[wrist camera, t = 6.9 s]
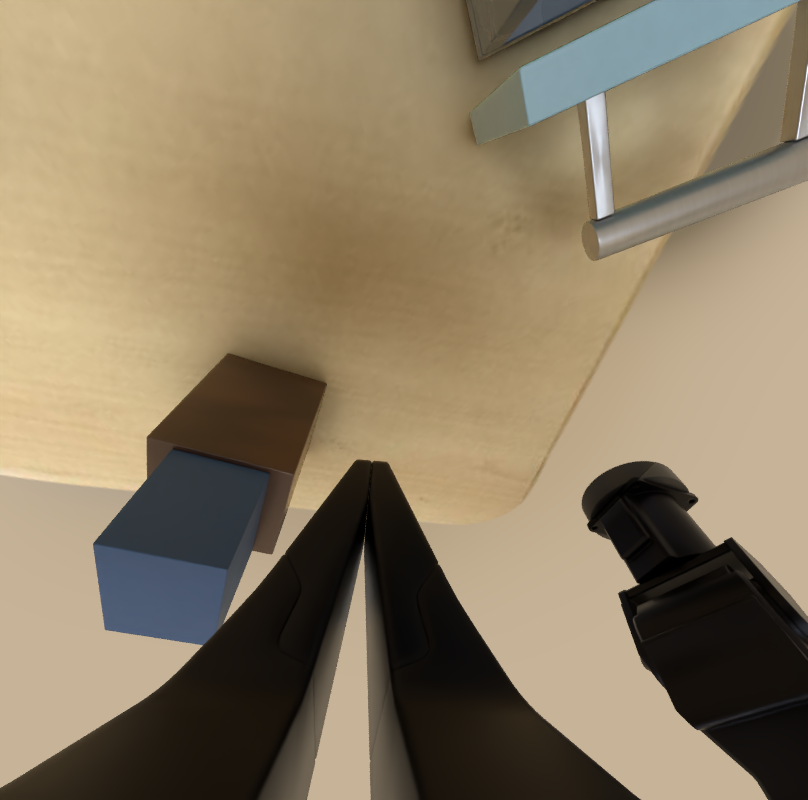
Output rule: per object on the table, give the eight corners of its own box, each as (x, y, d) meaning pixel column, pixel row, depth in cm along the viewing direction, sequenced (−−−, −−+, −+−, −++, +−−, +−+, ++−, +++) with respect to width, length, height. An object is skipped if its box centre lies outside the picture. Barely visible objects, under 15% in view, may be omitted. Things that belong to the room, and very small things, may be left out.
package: (270, 472, 15) (227, 570, 12) (253, 548, 18) (213, 647, 14) (171, 448, 15) (92, 543, 11) (169, 530, 17) (104, 630, 14)
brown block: (327, 383, 22) (294, 474, 16) (306, 453, 25) (272, 555, 19) (227, 352, 21) (145, 436, 14) (218, 429, 24) (147, 529, 17)
